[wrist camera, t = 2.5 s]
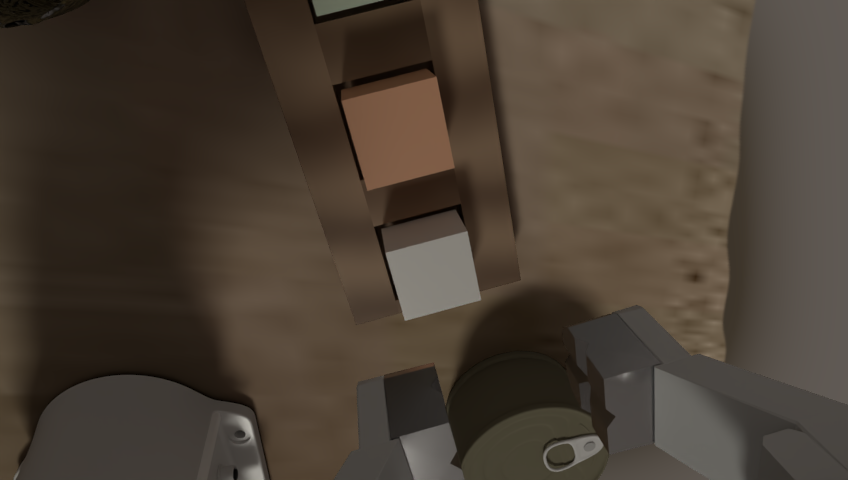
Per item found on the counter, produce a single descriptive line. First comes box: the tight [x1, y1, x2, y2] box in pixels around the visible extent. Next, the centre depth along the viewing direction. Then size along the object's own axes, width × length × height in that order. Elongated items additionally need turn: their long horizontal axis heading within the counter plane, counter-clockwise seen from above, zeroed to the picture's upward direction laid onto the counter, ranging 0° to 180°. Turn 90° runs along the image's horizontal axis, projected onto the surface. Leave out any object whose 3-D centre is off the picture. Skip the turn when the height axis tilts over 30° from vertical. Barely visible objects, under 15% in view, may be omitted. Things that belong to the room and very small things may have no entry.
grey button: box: [381, 209, 481, 321], centre depth 32 cm, size 5×5×4 cm
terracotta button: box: [341, 69, 455, 191], centre depth 28 cm, size 5×5×4 cm
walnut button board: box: [244, 0, 521, 325], centre depth 31 cm, size 26×12×3 cm, turn 13°
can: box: [446, 351, 609, 480], centre depth 42 cm, size 12×12×7 cm
